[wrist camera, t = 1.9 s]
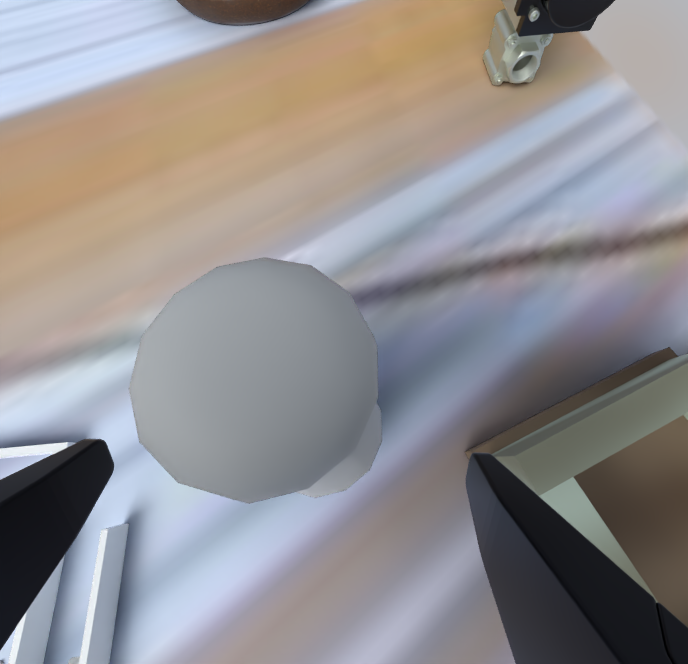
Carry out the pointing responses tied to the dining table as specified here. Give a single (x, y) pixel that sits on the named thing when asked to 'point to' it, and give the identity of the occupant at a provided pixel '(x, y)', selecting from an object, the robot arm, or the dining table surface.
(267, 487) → the grey round-headed cylinder
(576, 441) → the holder
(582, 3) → the pneumatic valve
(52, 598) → the floor plan model
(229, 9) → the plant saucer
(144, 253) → the dining table surface
